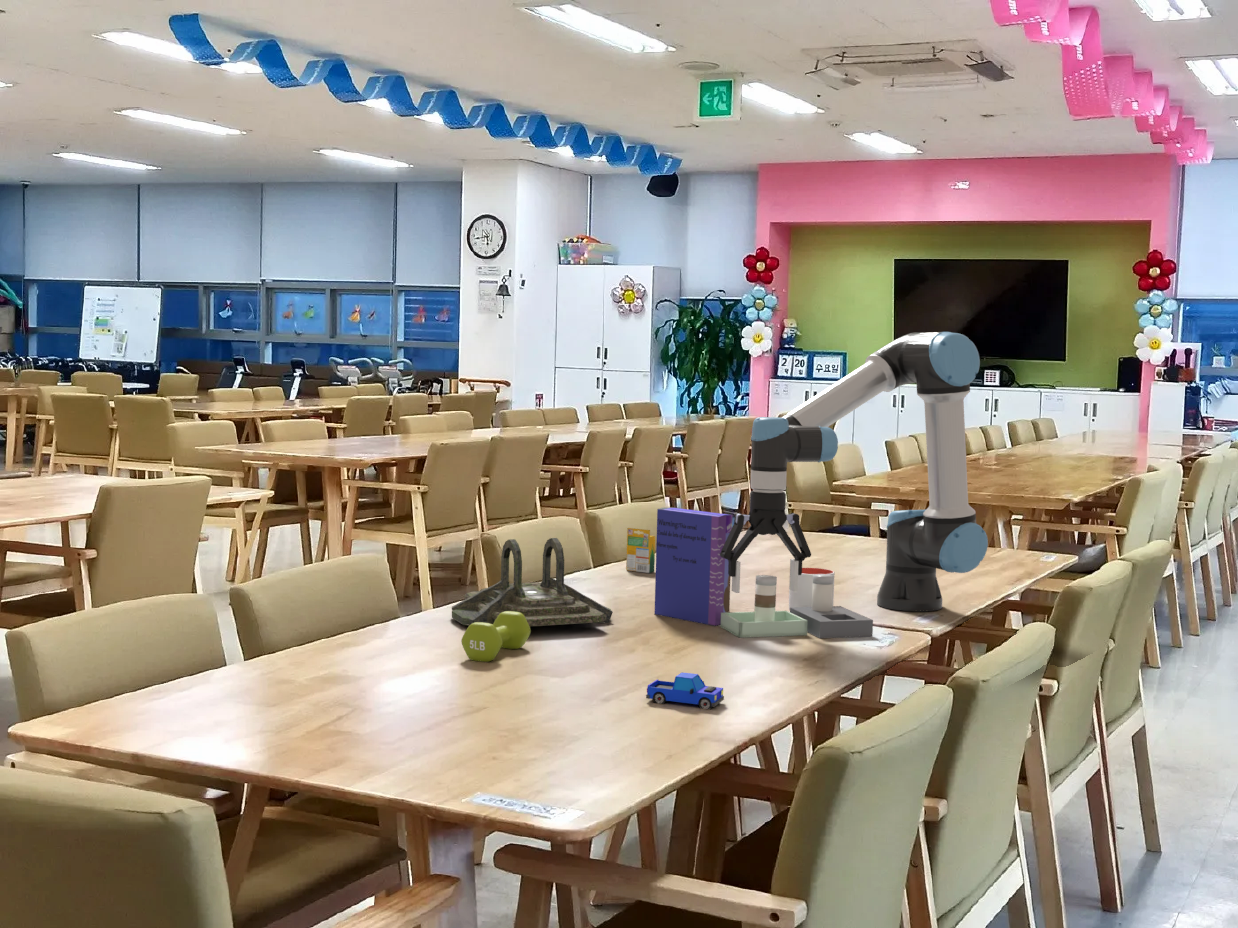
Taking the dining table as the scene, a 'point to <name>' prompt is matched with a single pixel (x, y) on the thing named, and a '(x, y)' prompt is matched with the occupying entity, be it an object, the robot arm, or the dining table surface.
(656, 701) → the toy car
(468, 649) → the dumbbell
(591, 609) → the metal base with loops
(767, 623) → the parts tray
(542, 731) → the dining table surface
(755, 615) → the cylinder
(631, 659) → the dining table surface
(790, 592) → the cup
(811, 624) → the fuse holder block
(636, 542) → the crayon box
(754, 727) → the dining table surface
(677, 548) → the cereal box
